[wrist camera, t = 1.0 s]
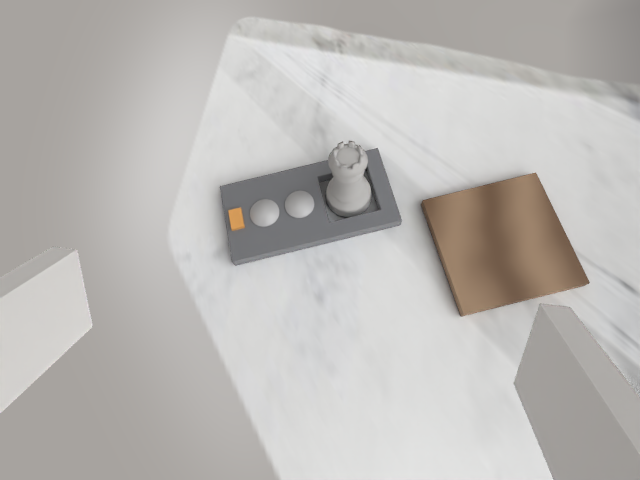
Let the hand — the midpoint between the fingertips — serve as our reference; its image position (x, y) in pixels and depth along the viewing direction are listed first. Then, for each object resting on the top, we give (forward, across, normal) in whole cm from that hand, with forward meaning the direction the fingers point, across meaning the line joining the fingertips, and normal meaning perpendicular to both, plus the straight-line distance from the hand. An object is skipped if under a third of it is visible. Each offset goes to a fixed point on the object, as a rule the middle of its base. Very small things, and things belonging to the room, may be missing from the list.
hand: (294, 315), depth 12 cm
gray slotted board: (+28, -4, -7) cm, 29 cm away
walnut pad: (+26, +14, -8) cm, 31 cm away
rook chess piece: (+29, 0, -6) cm, 29 cm away
